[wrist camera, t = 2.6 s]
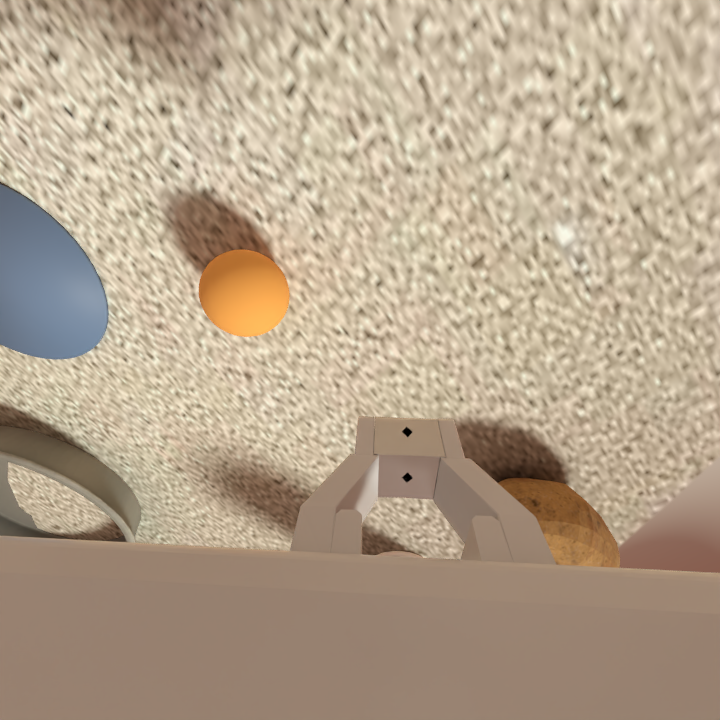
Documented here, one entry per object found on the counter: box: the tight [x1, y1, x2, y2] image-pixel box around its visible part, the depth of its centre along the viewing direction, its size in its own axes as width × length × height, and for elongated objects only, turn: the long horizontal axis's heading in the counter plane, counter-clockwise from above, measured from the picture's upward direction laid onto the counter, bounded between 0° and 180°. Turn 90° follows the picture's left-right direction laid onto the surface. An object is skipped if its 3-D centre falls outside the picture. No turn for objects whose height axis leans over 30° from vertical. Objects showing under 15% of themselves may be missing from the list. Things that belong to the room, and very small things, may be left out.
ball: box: [199, 249, 289, 337], centre depth 21 cm, size 6×6×6 cm
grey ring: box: [0, 425, 141, 543], centre depth 37 cm, size 25×25×4 cm
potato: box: [498, 478, 620, 568], centre depth 30 cm, size 10×14×8 cm
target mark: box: [0, 184, 108, 359], centre depth 24 cm, size 14×14×1 cm
